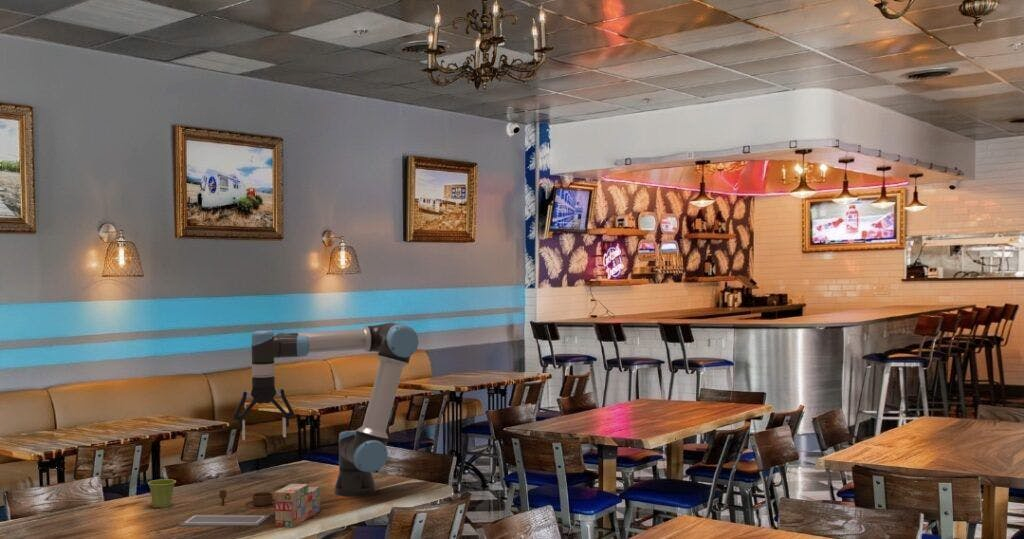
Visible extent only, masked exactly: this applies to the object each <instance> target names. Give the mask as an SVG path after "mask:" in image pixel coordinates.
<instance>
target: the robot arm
mask: <svg viewBox="0 0 1024 539" xmlns="http://www.w3.org/2000/svg"><path fill="white" fill-rule="evenodd" d="M419 341H420V340H419V337H418V334H417V332H416V331H415V330H414V328H412V327H411V326H409V325H407V324H404V323H394V322H386V323H381V324H374V325H364V327H363V328H358V329H340V330H339V329H338V330H337V329H336V330H323V331H304V332H289V333H288V332H287V333H286V332H278V333H276V334H275V333H274V331H273V330H256V331H253V332H252V334H251V343H250V346H251V375H252V378H251V388H252V389H251V391H246V390H243V391H242V396H241V399H240V401H239V403H238V404H237V407H236V409H235V411H234V413H233V416H232V418H233V419H234V420H237V421H238V430H239V431H241V438H242V441H246V420H245V418H246V417H247V415H248V414H249V412H250V411H251V410H252V409H253V408H254V406H256V404H270V403H272V404H273V405H274V406H275V407H276V408H277V409H278V411H280V413H281V414H282V415H283V417H282V437H283V438H286V437H287V428H289V427H290V417H292V416H295V412H294V410H293V408H292V406H291V405H290V403H289V400H288V398H287V397H286V394H285V390H284V389H283V388H280V389H276V387H275V386H276V385H275V384H276V382H275V376H274V375H275V359H278V358H300V357H307V356H308V355H309V354H310V353H325V352H342V351H343V352H344V351H358V350H359V351H360V350H364V351H365V352H367V353H368V352H376V353H377V358H378V360H379V365H378V368H377V372H376V376H375V380H374V384H373V387H372V390H371V394H370V398H369V402H368V404H367V408H366V412H365V415H364V418H363V419H364V420H363V422H362V425H361V426H360V427H358V428H357V429H356V430H345V431H341V432H339V434H338V466H339V467H338V469H339V471H338V475H337V479H336V482H335V486H334V494H335V495H337V496H339V497H340V496H341V497H362V496H367V495H368V496H369V495H372V494H374V493H376V492H377V486H376V483H375V479H374V477H373V476H374V475H373V473H375V472H377V471H379V470H380V469H382V468H383V467H385V464H386V462H387V460H388V456H389V455H388V449H387V444H388V439H389V436H388V435H387V433H386V431H387V427H388V424H389V421H390V420H389V419H390V417H391V413H392V409H393V406H394V403H395V400H396V399H395V398H396V395H397V391H398V387H399V383H400V381H401V376H402V372H403V369H404V368H405V367H407V366H408V365H409V364H410V360H411V357H412V356H413V355H414V353H416V352H417V350H418V346H419ZM276 395H278V396H279V397H281V400H282V402H283V403H284V405H285V407H286V409H287V411H288V412H287V411H285V409H284V408H283V407H282V406H281V404H279V403H278V401H277V400H275V396H276ZM250 396H251V397H252V398H253V399H252V400H251V401H250V403H249V404H248V405H247V406H246V408H245V409H244V410H243V411H242V409H243V406H244V405H245V402H246V400H247V398H249V397H250ZM241 411H242V412H241ZM240 412H241V414H240ZM239 414H240V415H239Z"/></svg>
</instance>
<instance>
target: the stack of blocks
mask: <svg viewBox="0 0 1024 539" xmlns="http://www.w3.org/2000/svg"><path fill="white" fill-rule="evenodd" d="M320 491H321V490H320V486H309V484H308V483H290V484H287V485H286V486H283V487H282V488H280V489H278V490H276V491H275V492H274V500H275V502H274V505H275V507H274V512H275V513H274V515H275V516H274V520H275V522H274V523H275V524H274V525H275V527H283V526H284V527H285V528H286V527H289V528H291V527H292V528H293V527H295V526H298V525H299V524H300V523H303V522H304V521H306V520H307V519H309V518H311V517H312V516H315V515H317V513H319V512H321V495H320Z"/></svg>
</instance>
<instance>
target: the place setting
mask: <svg viewBox="0 0 1024 539" xmlns="http://www.w3.org/2000/svg"><path fill="white" fill-rule="evenodd" d="M218 495H219V499H221V505H222V506H224V505H225V499H226V498H227V490H226V489H223V490H219V494H218ZM273 501H274V503H275V499H274V496H273V493H272V492H268V491H264V492H256V493H253V494H252V500H250V501H248V502H247V501H246V503H245V505H244V506H245V508H246V507H247V509H250V508H251V510H263V509H271V508H275V504H273V505H271V504H272V502H273ZM250 503H251V504H253V505H255V506H249V505H251V504H250ZM267 505H268V506H267Z"/></svg>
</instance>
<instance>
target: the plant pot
mask: <svg viewBox="0 0 1024 539" xmlns="http://www.w3.org/2000/svg"><path fill="white" fill-rule="evenodd" d="M176 483H177V480H175V479H171V478H170V479H169V478H168V479H167V478H165V479H164V478H161V479H155V480H150V481H148V482H147V484H148V487H149V489H150V496H151V502H152V507H153V508H154V509H155V508H156V509H157V508H161V509H162V508H168V507H170V506H172V502H173V501H172V499H173V495H174V494H173V492H174V487H175V484H176Z"/></svg>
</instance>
